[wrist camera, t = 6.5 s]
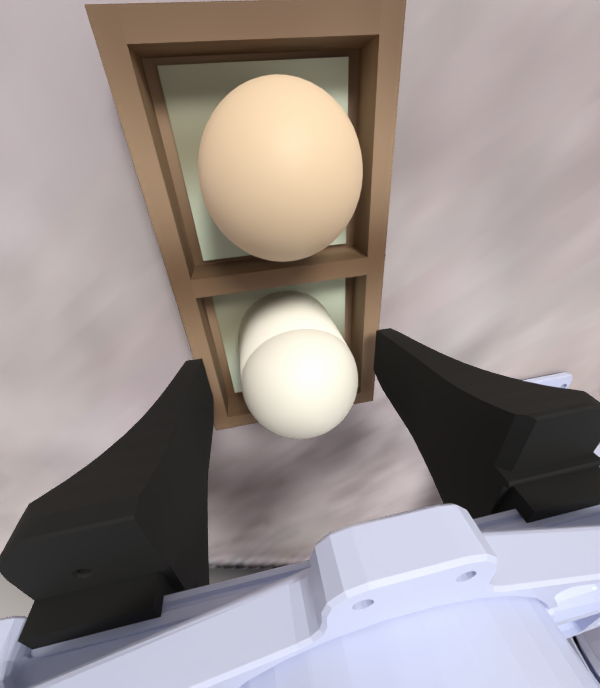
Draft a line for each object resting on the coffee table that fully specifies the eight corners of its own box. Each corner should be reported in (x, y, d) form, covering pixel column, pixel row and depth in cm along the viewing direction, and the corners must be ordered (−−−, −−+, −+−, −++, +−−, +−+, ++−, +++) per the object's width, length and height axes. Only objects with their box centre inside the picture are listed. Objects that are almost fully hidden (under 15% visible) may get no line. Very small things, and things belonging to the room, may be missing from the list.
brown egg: (326, 225, 13) (383, 272, 8) (219, 237, 12) (214, 295, 7) (324, 90, 10) (402, 48, 6) (192, 98, 10) (160, 59, 5)
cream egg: (332, 285, 14) (384, 356, 9) (330, 365, 16) (370, 453, 12) (231, 296, 13) (234, 377, 9) (244, 377, 16) (251, 475, 11)
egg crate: (358, 374, 18) (372, 400, 16) (217, 399, 17) (215, 430, 15) (374, 23, 10) (406, -3, 8) (112, 31, 9) (84, 4, 7)
